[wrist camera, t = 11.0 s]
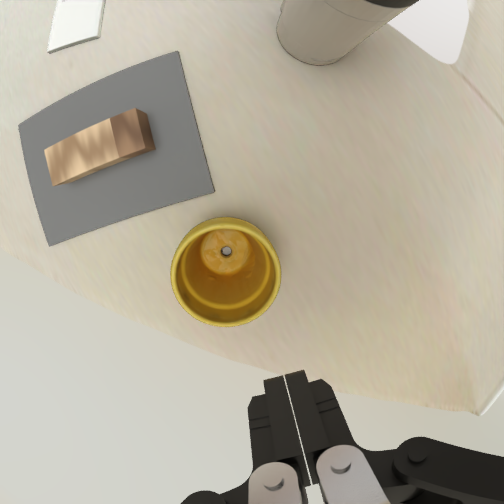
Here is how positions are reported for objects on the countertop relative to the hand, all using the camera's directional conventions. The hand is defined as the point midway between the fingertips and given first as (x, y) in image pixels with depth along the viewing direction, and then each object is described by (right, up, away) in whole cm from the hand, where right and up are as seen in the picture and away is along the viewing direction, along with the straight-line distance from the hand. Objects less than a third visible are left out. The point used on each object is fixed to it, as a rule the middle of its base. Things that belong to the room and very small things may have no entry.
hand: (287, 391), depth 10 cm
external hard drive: (-25, +38, +15) cm, 48 cm away
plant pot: (-4, +6, +27) cm, 27 cm away
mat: (-19, +17, +21) cm, 34 cm away
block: (-24, +15, +19) cm, 34 cm away
